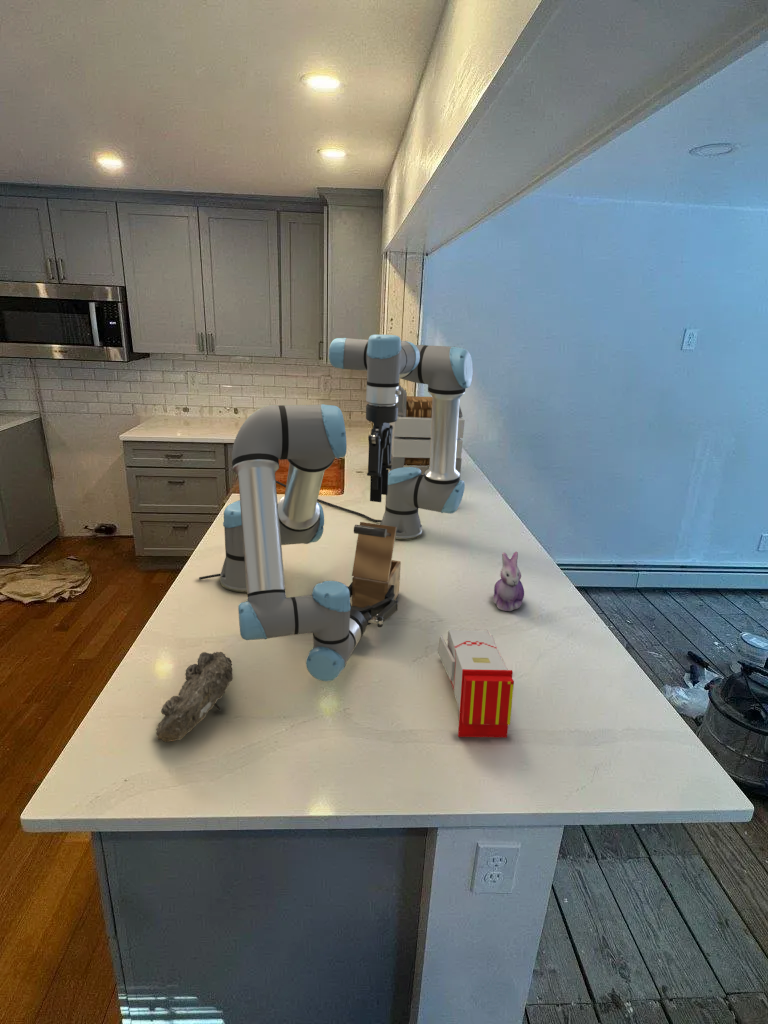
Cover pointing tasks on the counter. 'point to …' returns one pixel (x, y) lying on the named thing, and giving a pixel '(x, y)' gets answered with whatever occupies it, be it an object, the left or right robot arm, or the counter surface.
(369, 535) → the lid
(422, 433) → the white slatted crate
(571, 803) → the counter surface
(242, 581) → the left robot arm
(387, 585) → the chest
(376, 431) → the right robot arm
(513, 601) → the figurine
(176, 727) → the fossil
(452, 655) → the toy
